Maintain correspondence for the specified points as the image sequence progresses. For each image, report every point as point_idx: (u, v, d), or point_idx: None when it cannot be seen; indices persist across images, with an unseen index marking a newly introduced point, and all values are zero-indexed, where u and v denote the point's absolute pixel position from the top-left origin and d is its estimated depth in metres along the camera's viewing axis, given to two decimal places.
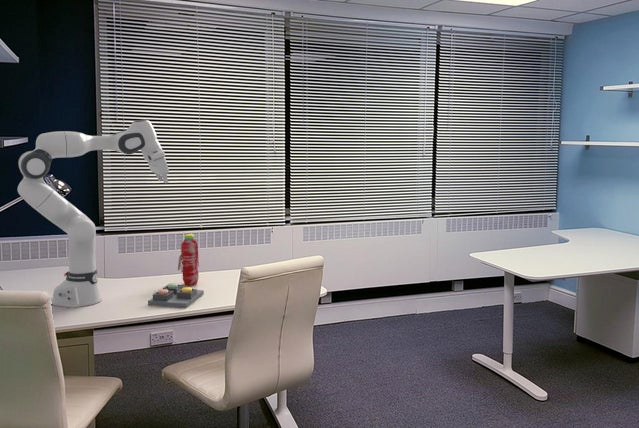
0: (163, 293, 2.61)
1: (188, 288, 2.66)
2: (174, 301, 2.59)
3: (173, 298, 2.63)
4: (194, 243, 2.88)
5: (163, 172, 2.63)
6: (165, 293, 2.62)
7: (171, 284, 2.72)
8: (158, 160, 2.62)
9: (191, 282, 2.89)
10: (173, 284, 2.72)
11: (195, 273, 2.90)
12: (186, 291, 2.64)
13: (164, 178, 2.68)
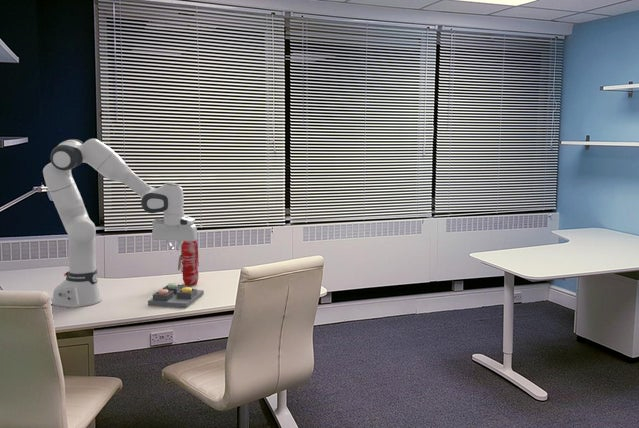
0: (163, 293, 2.61)
1: (188, 288, 2.66)
2: (174, 301, 2.59)
3: (173, 298, 2.63)
4: (194, 243, 2.88)
5: (195, 238, 2.61)
6: (165, 293, 2.62)
7: (171, 284, 2.72)
8: (192, 225, 2.60)
9: (191, 282, 2.89)
10: (173, 284, 2.72)
11: (195, 273, 2.90)
12: (186, 291, 2.64)
13: (180, 245, 2.63)
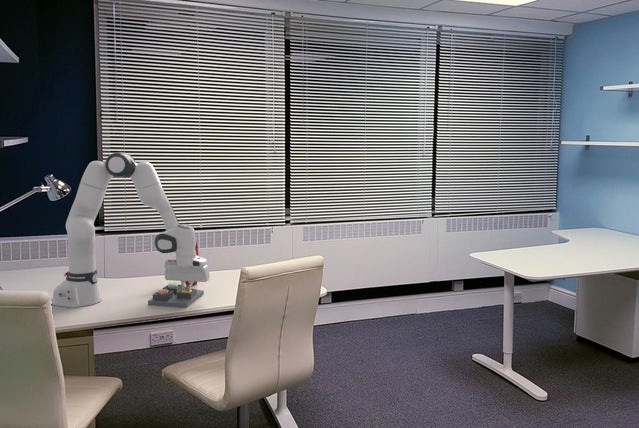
0: (163, 293, 2.61)
1: None
2: (174, 301, 2.59)
3: (173, 298, 2.63)
4: None
5: (207, 279, 2.63)
6: (165, 293, 2.62)
7: (171, 284, 2.72)
8: (204, 266, 2.63)
9: None
10: (173, 284, 2.72)
11: None
12: None
13: (190, 285, 2.66)
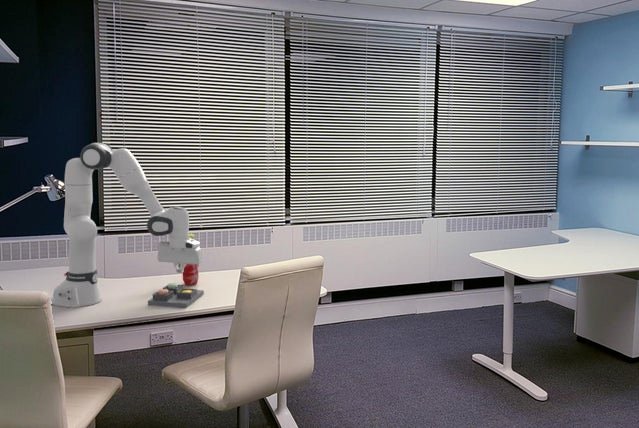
0: (163, 293, 2.61)
1: (188, 291, 2.67)
2: (174, 301, 2.59)
3: (173, 298, 2.63)
4: None
5: (200, 261, 2.63)
6: (165, 293, 2.62)
7: (171, 284, 2.72)
8: (197, 249, 2.63)
9: (191, 282, 2.89)
10: (173, 284, 2.72)
11: (195, 273, 2.90)
12: None
13: (183, 267, 2.66)
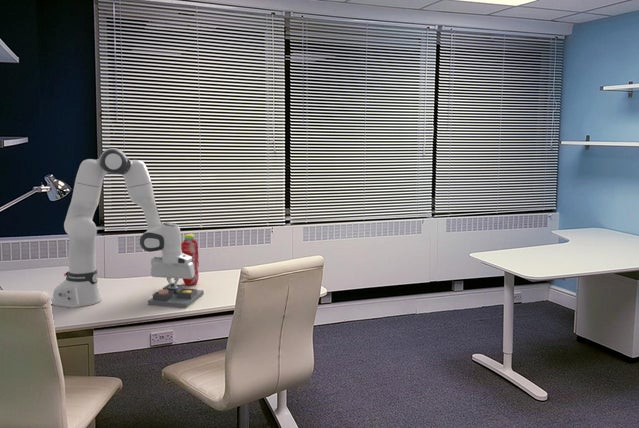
0: (163, 293, 2.61)
1: (188, 291, 2.67)
2: (174, 301, 2.59)
3: (173, 298, 2.63)
4: (194, 243, 2.88)
5: (192, 276, 2.70)
6: (165, 293, 2.62)
7: (171, 287, 2.73)
8: (189, 264, 2.69)
9: (191, 282, 2.89)
10: (173, 287, 2.73)
11: (195, 273, 2.90)
12: None
13: (176, 282, 2.72)
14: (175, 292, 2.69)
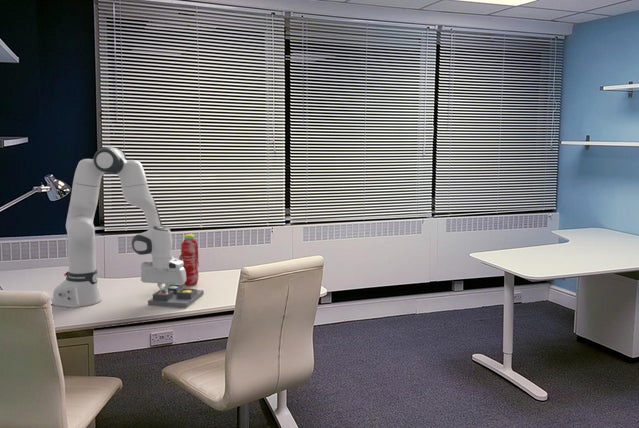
0: None
1: (188, 291, 2.67)
2: (174, 301, 2.59)
3: (173, 298, 2.63)
4: (194, 243, 2.88)
5: (184, 281, 2.60)
6: None
7: (171, 287, 2.73)
8: (181, 269, 2.60)
9: (191, 282, 2.89)
10: (173, 287, 2.73)
11: (195, 273, 2.90)
12: None
13: (167, 287, 2.62)
14: (175, 292, 2.69)
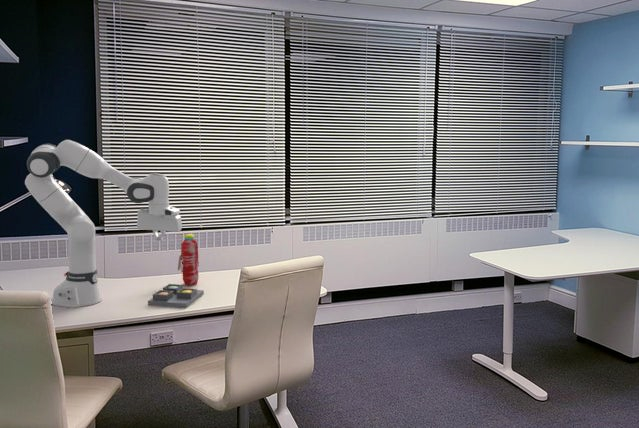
0: None
1: (188, 291, 2.67)
2: (174, 301, 2.59)
3: (173, 298, 2.63)
4: (194, 243, 2.88)
5: (179, 229, 2.61)
6: None
7: (171, 287, 2.73)
8: (176, 216, 2.61)
9: (191, 282, 2.89)
10: (173, 287, 2.73)
11: (195, 273, 2.90)
12: None
13: (162, 235, 2.64)
14: (175, 292, 2.69)
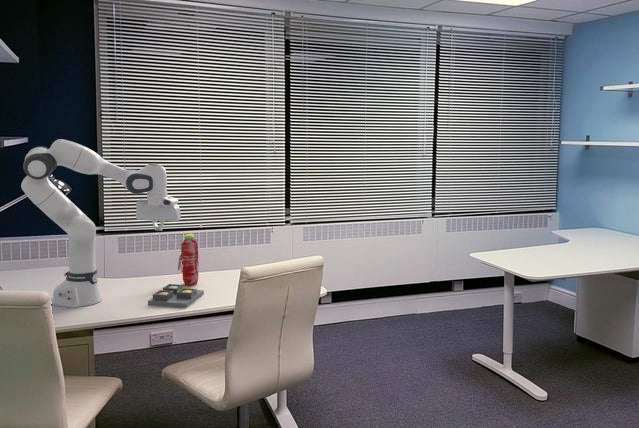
0: None
1: (188, 291, 2.67)
2: (174, 301, 2.59)
3: (173, 298, 2.63)
4: (194, 243, 2.88)
5: (178, 218, 2.64)
6: None
7: (171, 287, 2.73)
8: (175, 206, 2.63)
9: (191, 282, 2.89)
10: (173, 287, 2.73)
11: (195, 273, 2.90)
12: None
13: (162, 225, 2.66)
14: (175, 292, 2.69)
